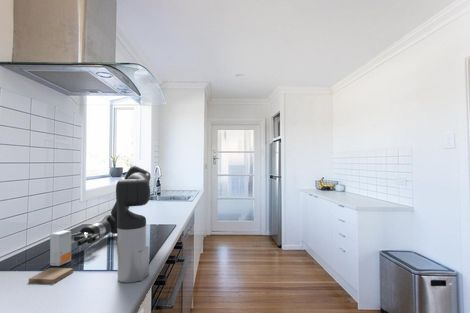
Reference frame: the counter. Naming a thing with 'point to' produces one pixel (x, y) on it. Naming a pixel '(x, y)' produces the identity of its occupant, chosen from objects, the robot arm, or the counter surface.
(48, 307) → the counter surface
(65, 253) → the skincare box
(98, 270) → the counter surface
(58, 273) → the plate
